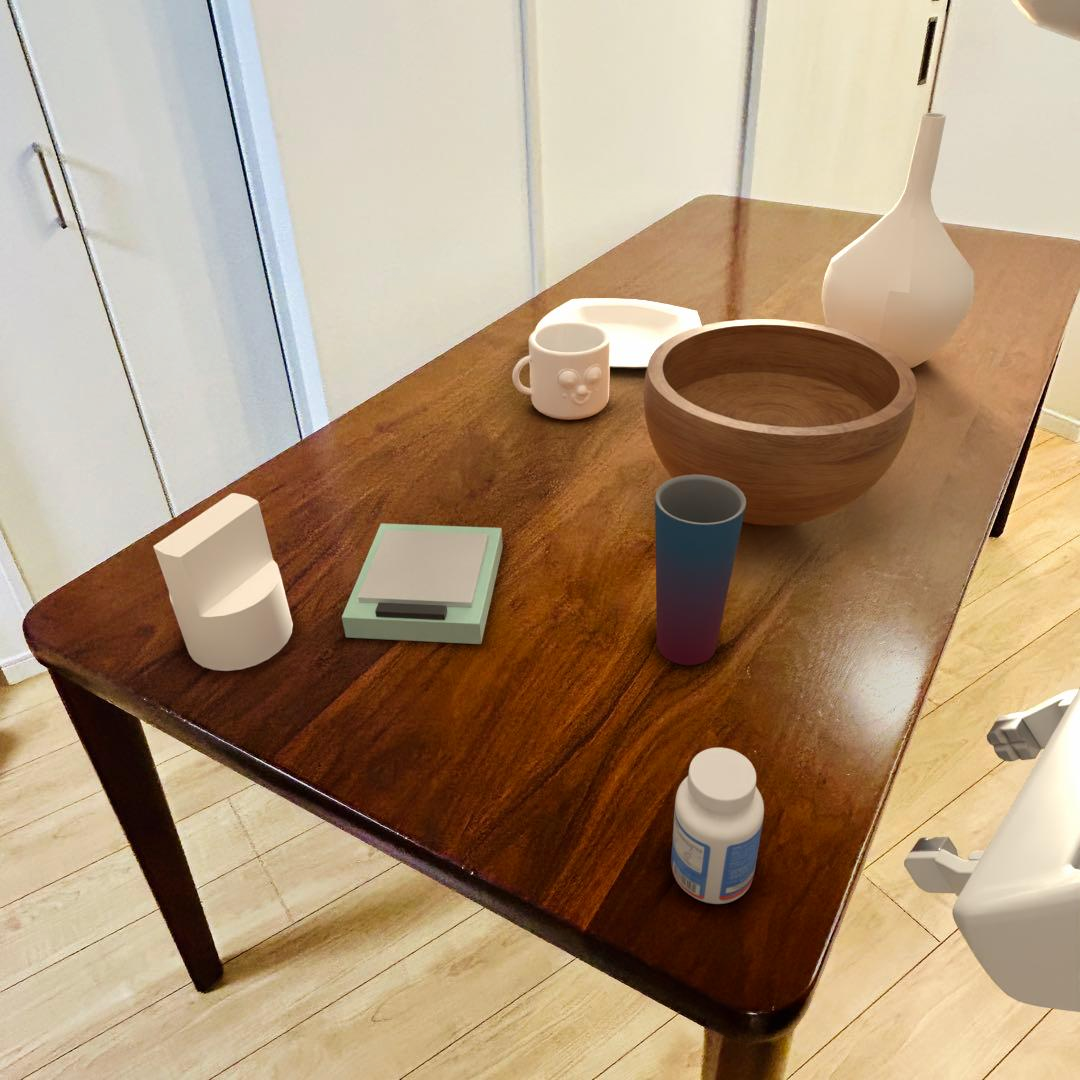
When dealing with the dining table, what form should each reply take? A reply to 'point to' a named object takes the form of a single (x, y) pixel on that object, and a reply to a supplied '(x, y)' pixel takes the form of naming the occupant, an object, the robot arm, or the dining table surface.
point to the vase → (903, 269)
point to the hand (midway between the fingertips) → (959, 798)
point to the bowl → (779, 413)
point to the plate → (627, 325)
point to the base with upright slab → (226, 586)
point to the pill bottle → (717, 826)
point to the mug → (567, 370)
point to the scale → (425, 584)
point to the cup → (694, 562)
